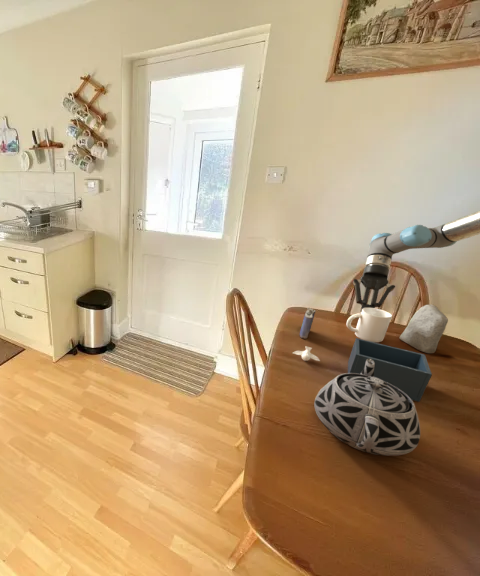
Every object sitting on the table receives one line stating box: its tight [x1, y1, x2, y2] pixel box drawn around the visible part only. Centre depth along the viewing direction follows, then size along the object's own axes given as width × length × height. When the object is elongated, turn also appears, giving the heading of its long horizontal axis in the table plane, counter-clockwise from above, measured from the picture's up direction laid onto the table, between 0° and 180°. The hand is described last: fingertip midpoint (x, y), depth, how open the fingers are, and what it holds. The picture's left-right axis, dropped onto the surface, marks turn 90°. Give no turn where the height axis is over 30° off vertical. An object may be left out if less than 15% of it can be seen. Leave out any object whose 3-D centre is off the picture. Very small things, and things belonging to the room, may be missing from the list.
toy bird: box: [292, 345, 321, 362], centre depth 103 cm, size 8×5×5 cm, turn 51°
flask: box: [299, 307, 316, 340], centre depth 117 cm, size 9×3×11 cm, turn 140°
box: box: [347, 337, 433, 403], centre depth 91 cm, size 16×12×9 cm
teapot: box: [313, 359, 421, 457], centre depth 73 cm, size 19×31×15 cm, turn 142°
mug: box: [346, 307, 393, 343], centre depth 115 cm, size 12×8×10 cm
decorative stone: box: [398, 303, 449, 354], centre depth 107 cm, size 11×6×15 cm, turn 171°
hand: (364, 320), depth 119 cm, fingers closed
